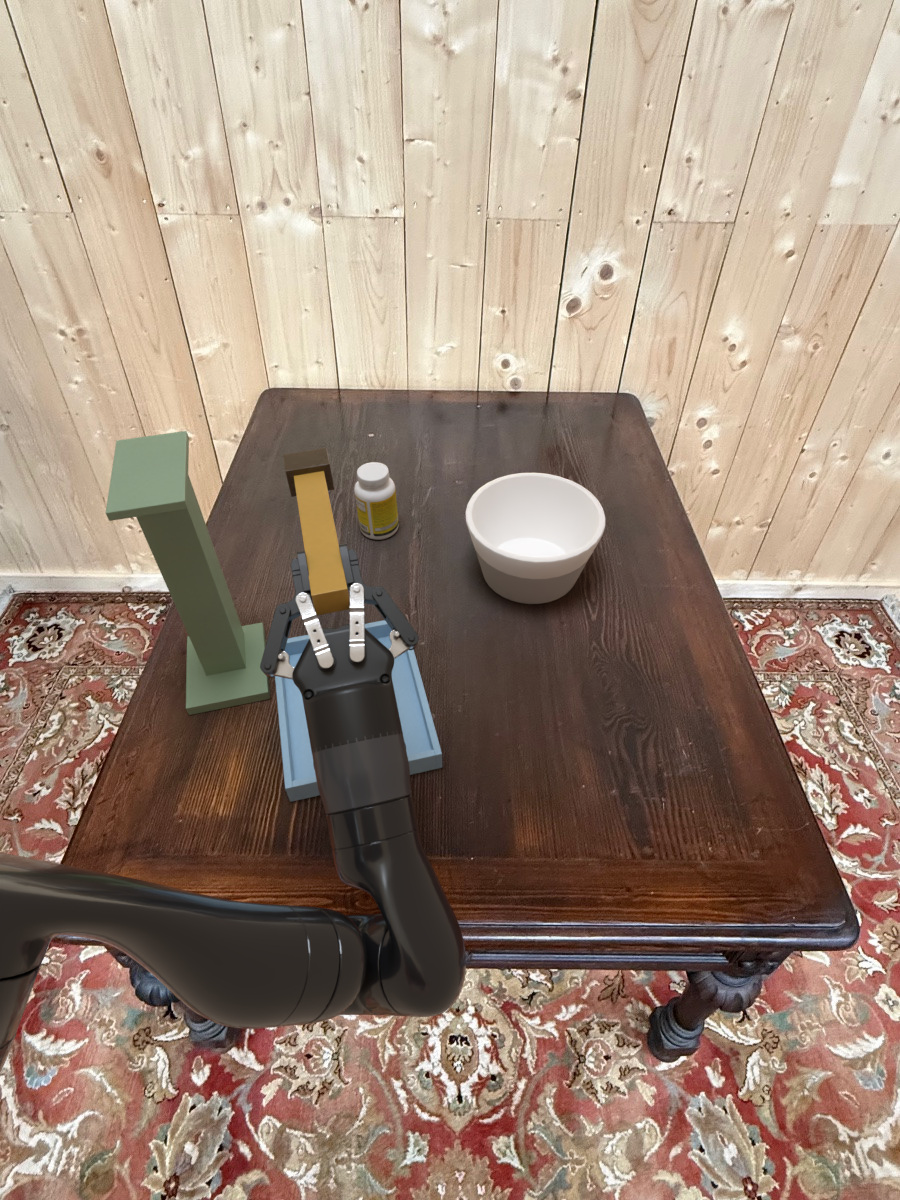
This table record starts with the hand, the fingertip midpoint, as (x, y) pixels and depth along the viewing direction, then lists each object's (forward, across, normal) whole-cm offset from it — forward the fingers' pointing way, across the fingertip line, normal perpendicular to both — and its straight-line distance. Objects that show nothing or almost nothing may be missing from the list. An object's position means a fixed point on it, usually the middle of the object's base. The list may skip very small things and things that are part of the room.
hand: (322, 551), depth 60 cm
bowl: (+5, -29, +39) cm, 48 cm away
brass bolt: (+3, 0, +5) cm, 6 cm away
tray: (-11, 0, +30) cm, 31 cm away
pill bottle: (+18, -9, +46) cm, 50 cm away
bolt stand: (-2, +15, +34) cm, 38 cm away
